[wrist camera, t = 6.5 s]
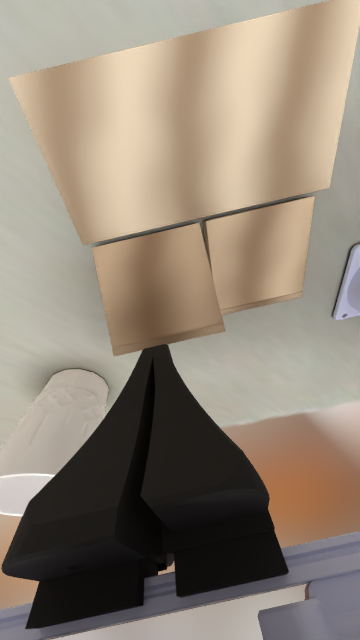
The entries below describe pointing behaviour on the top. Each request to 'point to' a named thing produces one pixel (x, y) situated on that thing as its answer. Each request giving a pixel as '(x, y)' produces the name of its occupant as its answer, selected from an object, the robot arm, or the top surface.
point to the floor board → (195, 120)
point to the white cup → (49, 435)
